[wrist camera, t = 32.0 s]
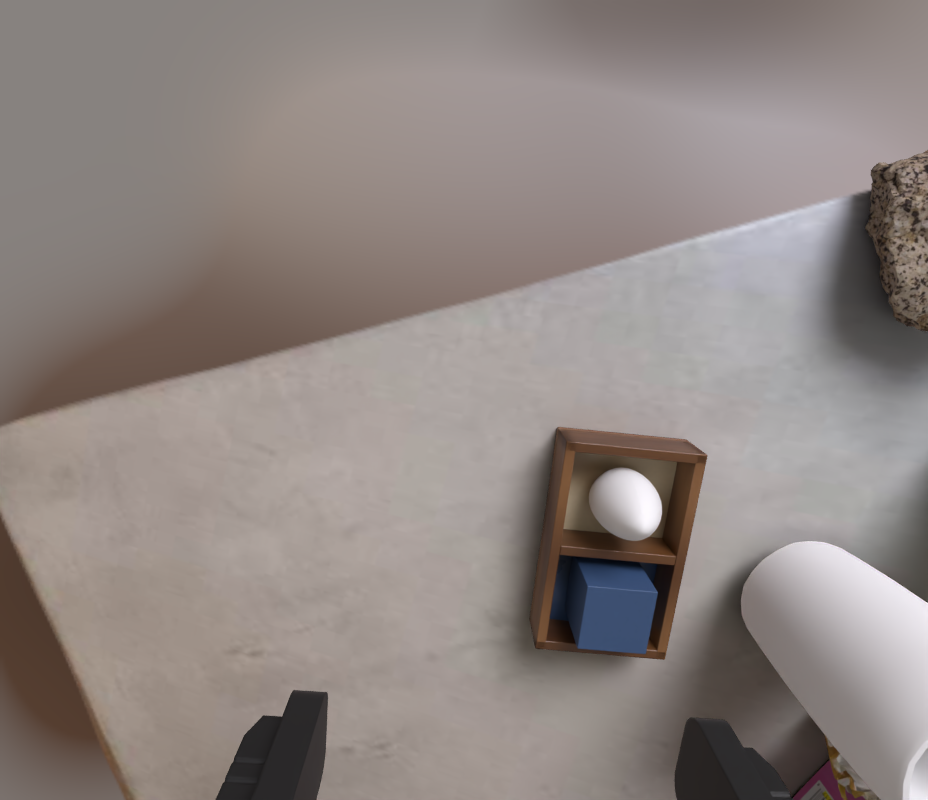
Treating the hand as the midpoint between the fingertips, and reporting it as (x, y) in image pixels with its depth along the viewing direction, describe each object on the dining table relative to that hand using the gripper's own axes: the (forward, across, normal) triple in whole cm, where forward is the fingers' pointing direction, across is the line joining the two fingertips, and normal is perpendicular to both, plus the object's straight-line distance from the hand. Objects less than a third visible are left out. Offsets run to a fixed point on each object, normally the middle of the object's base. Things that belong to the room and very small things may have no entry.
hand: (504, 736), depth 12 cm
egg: (+22, -9, +2) cm, 24 cm away
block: (+22, -9, +9) cm, 25 cm away
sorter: (+22, -9, +6) cm, 25 cm away
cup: (+22, -22, +8) cm, 32 cm away
